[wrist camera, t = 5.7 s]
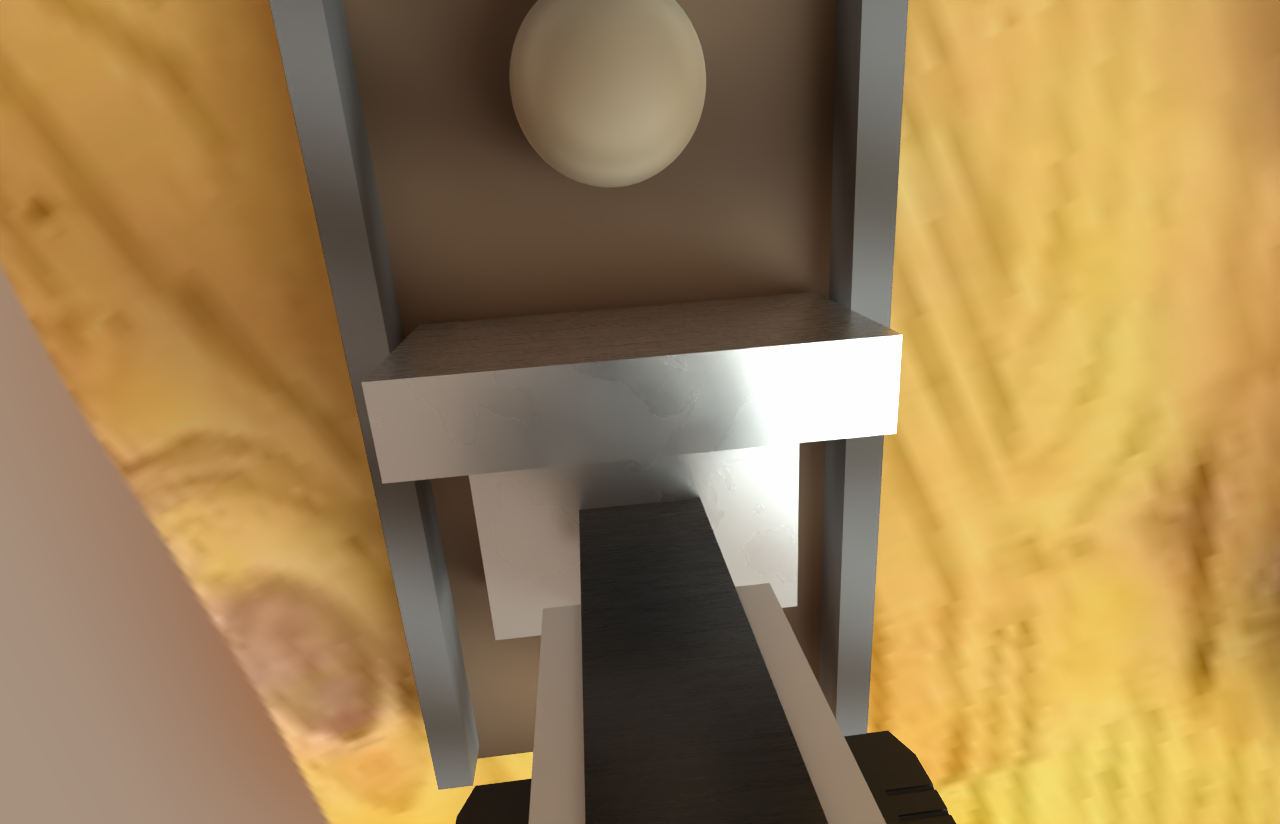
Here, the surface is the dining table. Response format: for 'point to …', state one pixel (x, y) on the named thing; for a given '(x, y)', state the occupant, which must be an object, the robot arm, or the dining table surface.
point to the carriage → (646, 515)
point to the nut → (607, 86)
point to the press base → (595, 275)
